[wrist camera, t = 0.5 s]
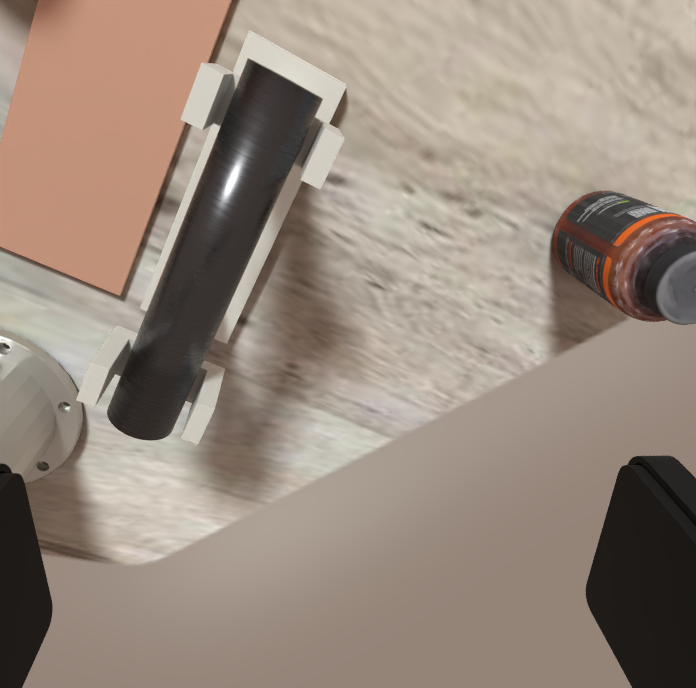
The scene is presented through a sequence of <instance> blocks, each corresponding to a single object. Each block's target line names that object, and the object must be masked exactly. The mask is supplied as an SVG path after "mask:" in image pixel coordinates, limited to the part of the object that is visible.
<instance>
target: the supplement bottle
mask: <svg viewBox="0 0 696 688" xmlns="http://www.w3.org/2000/svg"><path fill="white" fill-rule="evenodd" d="M553 247H554V252H555V256H556V258H557V260H558V262H559V263H560V265H561V266H562V267H563V268H564V269H565V270H566V271H567V272H568V273H569V274H571V275H572V276H573V277H575V278H576V279H578V280H579V281H580V282H582V283H583V284H585V285H586V286H587V287H589V288H590V289H591V290H593V291H594V292H596V293H597V294H598V295H600V296H601V297H602V298H604V299H605V300H607V301H608V302H609V303H611V304H612V305H613V306H615V307H616V308H618V309H619V310H621V311H622V312H624V313H625V314H627V315H629V316H631V317H633V318H635V319H639V320H642V321H647V322H648V321H649V322H658V321H665V320H668V321H671V322H673V323H676V324H681V325H688V324H695V323H696V222H695V221H693V220H690V219H688V218H685V217H683V216H681V215H678V214H675V213H672V212H669V211H667V210H664V209H661V208H659V207H656V206H653V205H651V204H648V203H645V202H643V201H640V200H637V199H634V198H632V197H629V196H626V195H624V194H620V193H616V192H612V191H598V192H593V193H589V194H587V195H585V196H582V197H581V198H579V199H578V200H576V201H574V202H573V203H572V204H571V205H570V206H569V207H568V208H567V209H566V210H565V211H564V213H563V214H562V216H561V217H560V219H559V221H558V223H557V225H556V228H555V231H554V237H553Z"/></svg>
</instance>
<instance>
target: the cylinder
mask: <svg viewBox="0 0 696 688" xmlns="http://www.w3.org/2000/svg"><path fill="white" fill-rule="evenodd" d="M322 100H323V99H322V98H321V97H319V96H318V95H316V94H314V93H313V92H311V91H309V90H307V89H306V88H304V87H302V86H300V85H298V84H297V83H295V82H293V81H291V80H289V79H287V78H286V77H284V76H282V75H280V74H278V73H276V72H275V71H273V70H271V69H269V68H267V67H265V66H263V65H261V64H259V63H257V62H255V61H253V60H251V59H249V58H248V59H247V61H246V64H245V66H244V69H243V71H242V74H241V76H240V79H239V82H238V84H237V87H236V89H235V92H234V94H233V97H232V99H231V102H230V104H229V107H228V109H227V112H226V114H225V117H224V119H223V122H222V124H221V127H220V129H219V132H218V134H217V137H216V139H215V142H214V144H213V147H212V149H211V152H210V154H209V157H208V159H207V162H206V164H205V167H204V169H203V172H202V174H201V177H200V179H199V182H198V184H197V187H196V189H195V192H194V194H193V197H192V199H191V202H190V204H189V207H188V209H187V212H186V214H185V217H184V219H183V222H182V224H181V227H180V229H179V232H178V234H177V237H176V239H175V242H174V244H173V247H172V249H171V252H170V254H169V257H168V259H167V262H166V264H165V267H164V269H163V272H162V275H161V277H160V280H159V282H158V285H157V287H156V290H155V292H154V295H153V297H152V300H151V302H150V305H149V307H148V310H147V312H146V315H145V317H144V320H143V322H142V325H141V327H140V330H139V332H138V335H137V337H136V340H135V342H134V345H133V347H132V350H131V352H130V355H129V357H128V360H127V362H126V365H125V367H124V370H123V372H122V375H121V377H120V380H119V382H118V385H117V387H116V390H115V392H114V395H113V397H112V400H111V402H110V405H109V407H108V411H107V415H108V418H109V420H110V422H111V423H112V424H113V425H114V426H115V427H116V428H117V429H118V430H120V431H121V432H123V433H124V434H126V435H129V436H131V437H134V438H137V439H142V440H159V439H163V438H165V437H167V436H168V435H169V434H170V433H171V432H172V430H173V428H174V425H175V423H176V421H177V419H178V417H179V414H180V412H181V410H182V408H183V406H184V403H185V401H186V399H187V397H188V395H189V392H190V390H191V388H192V386H193V384H194V381H195V379H196V377H197V375H198V373H199V370H200V368H201V366H202V364H203V362H204V359H205V357H206V355H207V353H208V351H209V348H210V346H211V344H212V342H213V340H214V338H215V335H216V333H217V331H218V329H219V327H220V324H221V322H222V320H223V318H224V316H225V313H226V311H227V309H228V307H229V305H230V302H231V300H232V298H233V296H234V294H235V291H236V289H237V287H238V285H239V283H240V280H241V278H242V276H243V274H244V272H245V269H246V267H247V265H248V263H249V261H250V258H251V256H252V254H253V252H254V250H255V247H256V245H257V243H258V241H259V239H260V236H261V234H262V232H263V230H264V228H265V225H266V223H267V221H268V219H269V217H270V214H271V212H272V210H273V208H274V206H275V204H276V201H277V199H278V197H279V195H280V193H281V190H282V188H283V186H284V184H285V182H286V179H287V177H288V175H289V173H290V171H291V168H292V166H293V164H294V162H295V160H296V157H297V155H298V153H299V151H300V149H301V146H302V144H303V142H304V140H305V138H306V135H307V133H308V131H309V129H310V127H311V124H312V122H313V120H314V118H315V116H316V113H317V111H318V109H319V107H320V105H321V102H322Z"/></svg>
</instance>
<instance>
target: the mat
mask: <svg viewBox="0 0 696 688" xmlns="http://www.w3.org/2000/svg"><path fill="white" fill-rule="evenodd" d="M231 3H232V0H38V2H37V6H36V10H35V13H34V17H33V21H32V25H31V29H30V32H29V36H28V40H27V44H26V48H25V51H24V55H23V59H22V63H21V66H20V70H19V74H18V78H17V82H16V85H15V89H14V93H13V97H12V101H11V104H10V108H9V112H8V116H7V120H6V123H5V127H4V131H3V135H2V138H1V142H0V247H2V248H5V249H7V250H10V251H12V252H15V253H17V254H19V255H22V256H24V257H27V258H29V259H32V260H34V261H36V262H39V263H41V264H44V265H46V266H48V267H51V268H53V269H56V270H58V271H61V272H63V273H65V274H68V275H70V276H73V277H75V278H78V279H80V280H82V281H85V282H87V283H90V284H92V285H95V286H97V287H99V288H102V289H104V290H107V291H109V292H111V293H114V294H116V295H119V296H120V295H121V294H122V292H123V290H124V287H125V284H126V282H127V279H128V276H129V274H130V271H131V268H132V266H133V263H134V260H135V258H136V255H137V252H138V250H139V247H140V244H141V242H142V239H143V236H144V234H145V231H146V228H147V226H148V223H149V221H150V218H151V215H152V213H153V210H154V207H155V205H156V202H157V199H158V197H159V194H160V191H161V189H162V186H163V183H164V181H165V178H166V175H167V173H168V170H169V167H170V165H171V162H172V159H173V157H174V154H175V152H176V149H177V146H178V144H179V141H180V138H181V136H182V133H183V130H184V128H185V125H186V122H184V121H182V120H180V119H181V116H182V114H183V111H184V108H185V106H186V103H187V100H188V98H189V95H190V92H191V90H192V87H193V84H194V81H195V79H196V76H197V73H198V71H199V68H200V65H201V63H209V61H210V59H211V56H212V53H213V51H214V48H215V45H216V43H217V40H218V37H219V35H220V32H221V29H222V27H223V24H224V21H225V19H226V16H227V13H228V11H229V8H230V5H231Z"/></svg>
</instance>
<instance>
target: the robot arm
mask: <svg viewBox="0 0 696 688" xmlns="http://www.w3.org/2000/svg"><path fill="white" fill-rule="evenodd" d="M77 396H78V392H77V389H76V387H75V385H74V384H73V382H72V380H71V379H70V377H69V375H68V374H67V373H66V371H65V370H64V369H63V368H62V367H61V366H60V364H59V363H58V362H57V361H56V360H55V359H54V358H52V357H51V356H50V355H49V354H48V353H47V352H45V351H44V350H43V349H41V348H40V347H38V346H37V345H35V344H33V343H32V342H30V341H28V340H27V339H25V338H22V337H20V336H17V335H15V334H13V333H10V332H8V331H4V330H0V688H22V686H23V684H24V682H25V680H26V678H27V675H28V673H29V671H30V668H31V666H32V664H33V662H34V660H35V658H36V655H37V653H38V651H39V649H40V646H41V644H42V642H43V640H44V637H45V635H46V633H47V631H48V628H49V626H50V622H51V618H52V600H51V595H50V591H49V587H48V583H47V578H46V574H45V569H44V565H43V561H42V557H41V552H40V548H39V544H38V539H37V535H36V531H35V526H34V522H33V518H32V514H31V509H30V505H29V501H28V496H27V492H26V488H25V483H28V482H32V481H36V480H38V479H40V478H42V477H44V476H47V475H49V474H50V473H52V472H53V471H54V470H56V469H57V468H59V467H60V466H61V465H62V464H63V463H64V461H65V460H66V459H67V458H68V457H69V456H70V454H71V452H72V451H73V449H74V448H75V446H76V444H77V442H78V439H79V437H80V434H81V431H82V423H83V412H82V403H81V402H79V401H76V399H77ZM586 598H587V603H588V606H589V608H590V611H591V613H592V614H593V616H594V618H595V620H596V622H597V624H598V625H599V627H600V629H601V631H602V633H603V635H604V636H605V638H606V640H607V642H608V644H609V646H610V647H611V649H612V651H613V653H614V655H615V657H616V658H617V660H618V662H619V664H620V666H621V668H622V669H623V671H624V673H625V675H626V677H627V679H628V681H629V682H630V684H631V686H632V688H696V478H695V477H694V476H693V475H692V474H691V473H690V472H689V471H688V470H687V469H686V468H685V467H684V466H683V465H682V464H681V463H680V462H679V461H678V460H677V459H675V458H674V457H671V456H636V457H633V458H632V459H631V460H630V461H629V463H628V465H625V466H622V467H621V468H620V471H619V473H618V476H617V479H616V483H615V486H614V490H613V493H612V497H611V500H610V504H609V507H608V511H607V514H606V518H605V521H604V525H603V528H602V532H601V535H600V539H599V543H598V546H597V549H596V553H595V556H594V560H593V564H592V567H591V570H590V574H589V577H588V581H587V585H586Z"/></svg>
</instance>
